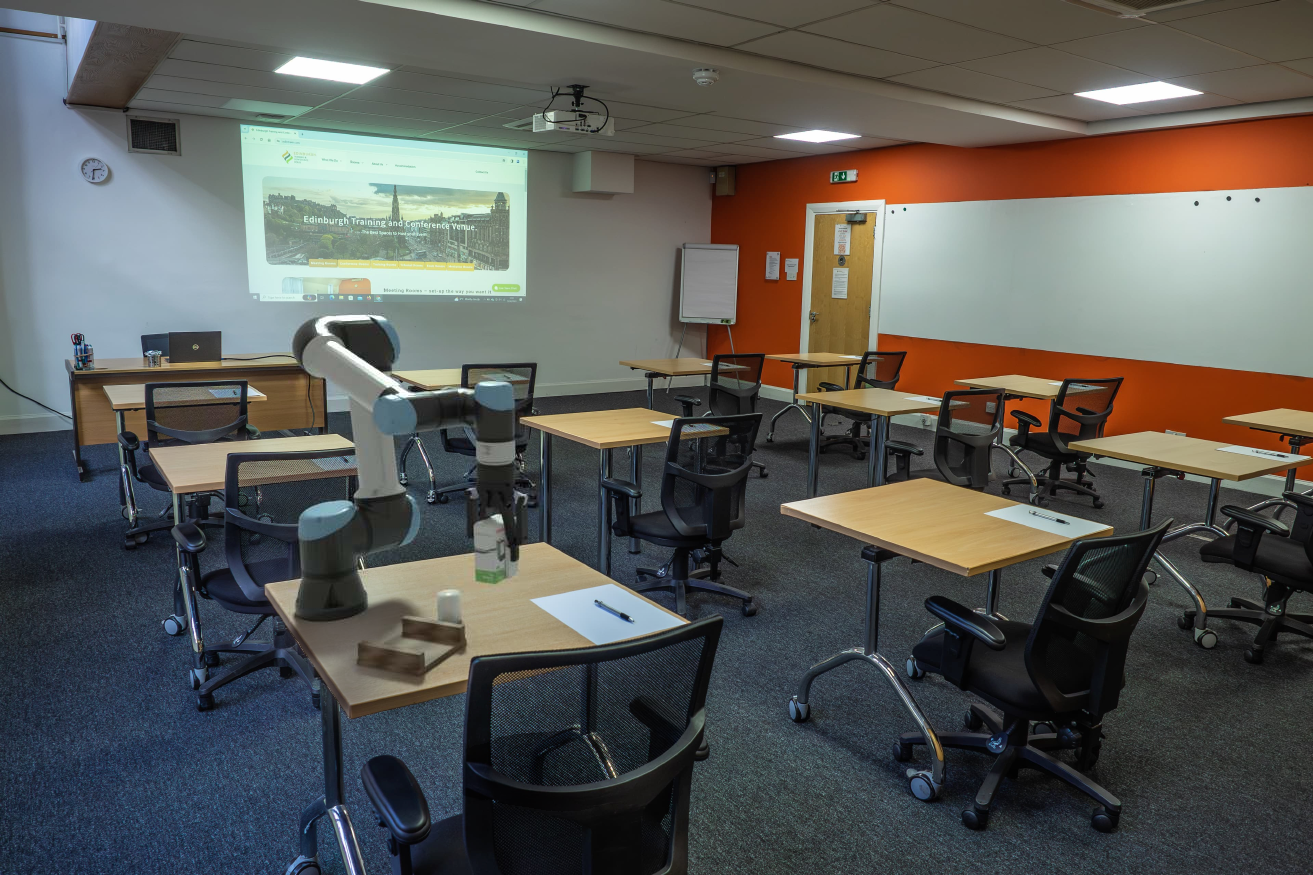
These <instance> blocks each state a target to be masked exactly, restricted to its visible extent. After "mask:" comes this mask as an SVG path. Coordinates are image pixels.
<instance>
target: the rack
mask: <svg viewBox="0 0 1313 875" xmlns="http://www.w3.org/2000/svg"><path fill="white" fill-rule="evenodd" d="M401 628H402V631H401V632H399V633H397V634H396V635H395V636H393V637H391V638H390V639H387V640H386V641H384V642H383V643H378V642H373V641H368V640H361V641H359V642H357V654H358V656H357V658H356V665H359V666H363V667H370V668H374V669H379V670H385V671H389V672H394V673H400V674H403V675H404V674H405V675H409V676H415V677H420V676H422V675H423V674H424V673H426V672H427V671H429V670H431V669H432V668H434V666H436V665H437V664H439V663H441V661H443V660H444V659H446V658H447V657H448V656H450V655H452V654H453V653H454V652H455V651H457V650H459V649H460V648H461V647H464V645H466V644H467V643H468V642H467V641H468V640H467V637H466V628H465V624H460V623H449V622H443V621H438V619H437V620H436V619H430V618H425V617H419V616H412V615H408V614H407V615H404V616H402V617H401Z"/></svg>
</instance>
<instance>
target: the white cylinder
mask: <svg viewBox="0 0 1313 875" xmlns="http://www.w3.org/2000/svg"><path fill="white" fill-rule="evenodd" d="M436 604H437V606H436V607H437V608H436V609H437V621H443V622H449V623H455V624H459V623H460V622H461V621H462V618H463V617H462V591H460V590H458V589H444V590H440V591H438V592H437V593H436Z"/></svg>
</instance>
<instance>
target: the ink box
mask: <svg viewBox="0 0 1313 875" xmlns="http://www.w3.org/2000/svg"><path fill="white" fill-rule="evenodd" d="M514 518H515V522H516V516H514ZM473 545H474V547H473V549H474V569H475V571H474V572H475V573H474V574H475V581H476V582H479V583H483V584H492V585H497V584H498V583H500V582H502V581H505V580H506V579H507V578H506V557H505V547H506V546H507V545H509V543H508V539H507V535H506V531H505V527H504V523H503V519H502V515H501V514H500V513H499V514H497V513H496V514H495V515H491V517H490V518H488V519H486V520H481V521H479V522H477V523H475V525H474V539H473ZM518 572H519V560H518V561H516V574H517V573H518Z"/></svg>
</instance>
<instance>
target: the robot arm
mask: <svg viewBox="0 0 1313 875" xmlns="http://www.w3.org/2000/svg"><path fill="white" fill-rule="evenodd" d="M291 345H292V346H291V348H292V349H291V351H292V354H293V357H294V360H295V361H296V363H297V364H298V365H299V366H300V367H301V369H303V370H304V371H305V372H307V373H308V374H309V375H311V376H312V377H316V378H321V379H323V378H324V379H325V380H326V381H327V382H329V383H331V384H332V385H334V386H335V387H336V388H338V390H340V391H342V392H344V393H345V394H346V395H347V396H348V402H349V403H348V404H349V411H350V418H351V419H350V421H351V426H352V427H351V428H352V435H353V443H354V444H353V445H354V452H355V453H354V454H355V460H356V461H355V462H356V468H357V478H358V486H359V488H358V490H356V492H355V493H354V495H353V501H354V503H353V502H352V501H349V500H340V499H339V500H335V501H331V500H330V501H326V502H325V501H324V502H321V503H318V504H315V505H312V506H310V507H308V508H307V509H305V510H304V511H303V512H302V513H301V514H300V515H299V518H298V531H297V536H298V540H299V542H298V544H299V553H300V554H299V555H300V556H299V557H300V567H301V580H300V584H299V587H298V591H297V597H296V599H295V603H294V606H295V607H294V608H295V614H296V617H299V618H301V619H303V620H308V621H318V622H319V621H322V622H323V621H334V620H340V619H344V618H348V617H349V618H350V617H351V616H355V615H357V614H359V613H361V612H363V611H364V610H365V609H367V607H368V605H369V600H368V598H369V597H368V595H369V594H368V592H367V590H366V589H365V587H364V585H363V582H362V581H363V580H362V579H361V576H360V574H359V567H358V566H359V565H358V558H359V557H364V556H368V555H371V554H375V553H378V552H382V551H383V552H384V551H387V550H395V549H397V548H399V547H401V546H405V545H407V544H409V543H411V542H413V540H414V539H415V537H416V536H417V535H418V532H419V529H420V525H421V524H420V523H421V512H420V508H419V506H418V504H417V502H416V499H415V498H414V497H413V496H411V495H408V494H407V488H405V487H404V486H403V485H402V484H401V483H400V482H399V476H398V467H397V458H396V450H395V443H394V436H405V435H408V434H415V433H421V432H427V431H428V432H429V431H434V430H436V431H437V430H443V429H447V428H448V429H449V428H456V427H468V428H472V429H475V448H476V451H475V454H476V455H475V456H476V458H475V459H476V460H477V461H478V462H477V463H476V480H477V484H476V487H470V488H467V489H466V490H464V491H463V494H464V497H465V501H466V537H467V538H468V539H472V540H474V525H475V523H477V522H479V521H481V520H486V519H488V518H490V517H491V516H493V510H494V509H498V512H499V514H500V515H502V519H503V523H504V527H505V531H506V535H507V539H508V543H509V545H507V546H506V547H505V557H506V579H507V580H510V579H512V578H513V577H514V576H517V573H516V561H518V562H519V560H520V546H521V545H523V544H525V543H527V542H528V541H529V524H528V518H529V517H528V516H529V515H528V503H529V501H530V494H529V493H522V492H520V491H518V488H517V487H516V484H515V483H516V478H517V477H516V474H517V472H516V463H515V461H514V460H515V459H516V438H515V437H516V436H515V435H516V434H515V433H516V430H515V429H516V428H515V427H516V422H515V421H516V418H515V417H516V416H515V414H516V409H515V408H516V402H515V392H514V389H515V388H514V387H513V384H511V383H510V382H507V381H497V380H496V381H493V380H491V381H481V382H478V383H476V384H475V386H474V389H472V388H466V387H462V386H458V385H457V386H445V387H443V388H441V389H440V390H430V391H420V392H413V391H411V390H410V389H408V388H406V387H405V386H403V385H402V384H400V383H399V382H397V381H395V380H394V379H393V378H391V375H392V374H393V367H392V366H393V365H395V364H396V363H397V362H398V361H399V359H400V354H401V342H400V338H399V335H398V332H397V331H396V328H395V327H394V325H393V324H392V323H390V321H389V319H387V318H385V317H384V316H381V315H369V314H361V315H360V314H359V315H324V316H323V315H321V316H316V317H313V318H311V319H309V320H306V321H305V322H304V323H302V324H301V325H300V327H299V328H297V330H296V331H295V333H294V336H293V338H292V343H291ZM479 497H480V499H481V504H480V510H479ZM513 499H514V504H516V505H515V514H514V506H513ZM479 511H480V514H479ZM514 517H516V522H515V518H514Z"/></svg>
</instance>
